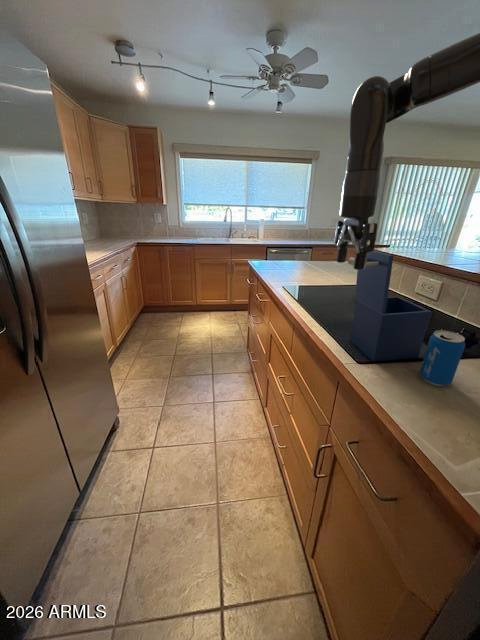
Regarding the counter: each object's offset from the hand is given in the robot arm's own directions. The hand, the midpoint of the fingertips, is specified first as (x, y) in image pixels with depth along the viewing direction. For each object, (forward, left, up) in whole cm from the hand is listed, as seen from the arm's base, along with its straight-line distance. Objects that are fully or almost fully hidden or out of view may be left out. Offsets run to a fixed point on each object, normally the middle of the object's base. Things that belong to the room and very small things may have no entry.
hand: (349, 265), depth 66 cm
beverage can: (-17, +16, -26) cm, 35 cm away
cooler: (-14, 0, -25) cm, 29 cm away
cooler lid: (-7, 0, -4) cm, 8 cm away
